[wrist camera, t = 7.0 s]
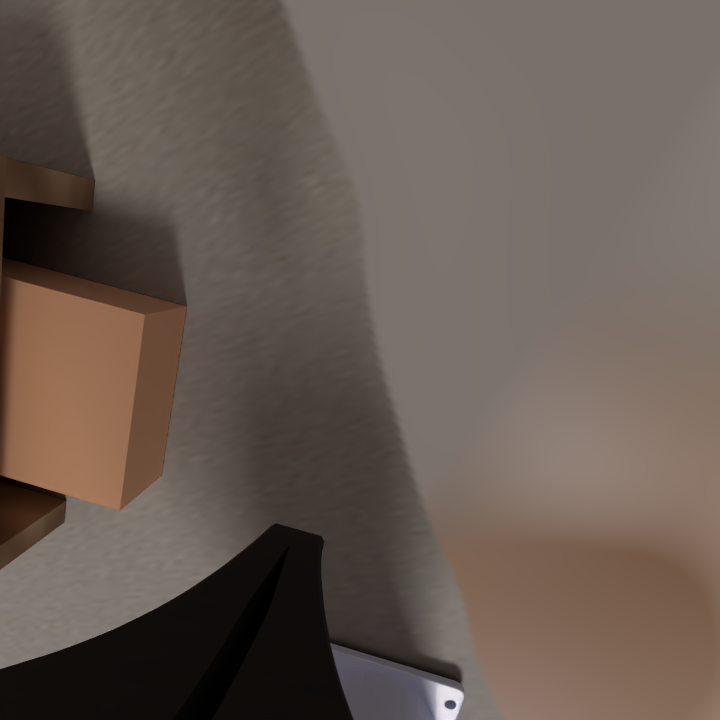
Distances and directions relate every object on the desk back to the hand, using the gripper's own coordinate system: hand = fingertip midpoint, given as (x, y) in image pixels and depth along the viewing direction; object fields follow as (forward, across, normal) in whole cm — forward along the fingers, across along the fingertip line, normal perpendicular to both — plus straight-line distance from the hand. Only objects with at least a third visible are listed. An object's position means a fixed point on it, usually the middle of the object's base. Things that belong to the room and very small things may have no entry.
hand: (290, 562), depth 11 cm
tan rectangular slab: (+8, +14, 0) cm, 16 cm away
